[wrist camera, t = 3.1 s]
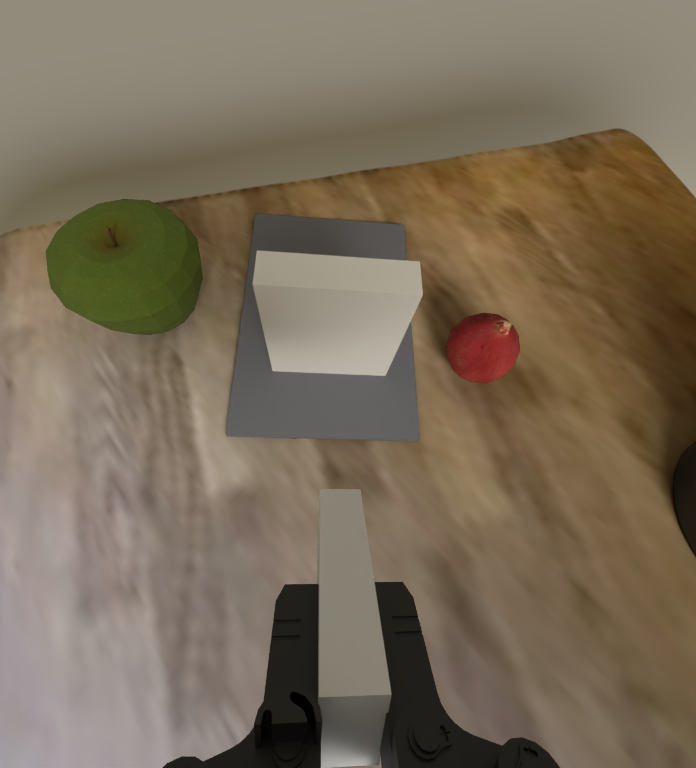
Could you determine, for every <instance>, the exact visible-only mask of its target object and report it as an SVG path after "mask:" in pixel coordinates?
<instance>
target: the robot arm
mask: <svg viewBox="0 0 696 768" xmlns="http://www.w3.org/2000/svg"><path fill="white" fill-rule="evenodd" d="M674 498H675V505H676V510H677V514H678V517H679V521H680V524H681V526H682V529H683V531H684V534H685V536H686V538H687V540H688V542H689V544H690V546H691V547H692V549H693V551H694V552H695V554H696V442H695V443H694V444H692V445H691V446H690V447H689V448H688V449H687V450H686V451H685V452H684V454H683V455H682V457H681V459H680V461H679V463H678V465H677V469H676V472H675V478H674ZM380 756H381V763H382V768H560V767H559V766H558V764H557V763H556V762H555V761H554V759H553V758H552V757H551V756H550V754H549V753H548V752H547V751H546V750H544V749H543V748H542V747H540V746H539V745H538V744H537V743H535V742H533V741H530V740H528V739H525V738H522V737H521V738H512V739H510V740H508V741H507V742H506V743H505V744H504V745H503V746H501V745H499V744H496V743H493V742H490V741H488V740H485V739H482V738H480V737H477V736H474V735H472V734H470V733H468V732H466V731H464V730H463V729H462V728H460V727H459V726H458V725H457V724H455V723H454V722H453V720H452V719H451V718H450V717H449V716H448V714H447V713H446V711H445V710H444V708H443V706H442V704H441V702H440V699H439V696H438V694H437V690H436V686H435V682H434V678H433V674H432V670H431V666H430V662H429V658H428V654H427V650H426V646H425V642H424V638H423V635H422V630H421V626H420V622H419V619H418V614H417V611H416V607H415V603H414V599H413V596H412V595H411V594H410V592H409V591H408V589H407V588H406V586H405V585H404V583H403V582H374V576H373V570H372V563H371V556H370V550H369V543H368V537H367V530H366V524H365V517H364V511H363V504H362V498H361V491H360V489H320V498H319V520H318V543H317V584H288V585H284V587H283V589H282V591H281V593H280V594H279V596H278V598H277V600H276V604H275V612H274V622H273V629H272V638H271V645H270V653H269V661H268V670H267V678H266V686H265V694H264V702H263V703H262V705H261V706H260V708H259V709H258V713H257V716H256V719H255V723H254V728H253V729H252V731H251V732H250V734H249V735H248V736H247V737H246V738H245V739H244V740H242V741H241V742H240V743H239V744H237V745H236V746H234V747H232V748H231V749H229V750H227V751H225V752H223V753H221V754H218V755H216V756H214V757H212V758H210V759H208V760H206V761H204V762H203V761H201V760H200V759H198V758H196V757H180V758H178V759H176V760H173V761H171V762H169V763H167V764H166V765H165V766H164V767H163V768H331V767H348V766H365V765H379V762H380Z"/></svg>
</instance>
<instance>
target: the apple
mask: <svg viewBox="0 0 696 768" xmlns="http://www.w3.org/2000/svg"><path fill="white" fill-rule="evenodd" d="M46 257H47V270H48V276H49V281H50V286H51V289H52V290H53V291H54V293H55V294H56V295H57V297H58V298H59V299H60V301H61V302H62V303H63V305H64V306H65V307H66V308H68V309H70V310H71V311H73V312H75V313H77V314H79V315H81V316H83V317H85V318H87V319H88V320H90V321H93V322H95V323H97V324H99V325H101V326H104V327H106V328H108V329H110V330H115V331H121V332H127V333H132V334H146V335H152V334H157V333H161V332H166V331H169V330H171V329H173V328H175V327H176V326H178V325H180V324H182V323H184V321H185V320H186V319H187V318H188V317H189V316H190V314H191V313H192V312H193V311H194V308H195V304H196V301H197V297H198V293H199V290H200V286H201V282H202V270H201V260H200V254H199V248H198V242H197V238H196V237H195V236H194V235H193V233H192V232H191V231H190V230H189V228H188V227H187V226H186V225H185V224H184V222H183V221H182V220H181V219H179V218H178V217H177V216H176V215H175V214H174V213H173V212H172V211H170V210H169V209H166V208H164V207H162V206H160V205H158V204H155V203H153V202H151V201H147V200H131V199H130V200H129V199H122V200H116V201H111V202H105V203H101V204H97V205H95V206H93V207H91V208H89V209H87V210H86V211H84V212H82V213H80V214H78V215H76V216H75V217H73V218H72V219H71V220H70V221H69V222H67V223H66V224H65V225H64V226H63V227H61V228H60V229H59V230H58V231H57V232H56V234H55V236H54V237H53V239H52V241H51V243H50V244H49V246H48V248H47V250H46Z"/></svg>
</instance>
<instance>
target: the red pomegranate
mask: <svg viewBox="0 0 696 768" xmlns="http://www.w3.org/2000/svg"><path fill="white" fill-rule="evenodd" d="M446 349H447V359H448V361H449V363H450V365H451V367H452V369H453V370H454V371H455V372H456V373H457V374H458V375H459V376H460V377H461V378H463V379H466V380H468V381H470V382H477V383H488V382H492V381H495V380H498V379H499V378H501V377H503V376H504V375H505V374H506V373H507V372H509V371H510V370H511V369H512V367H513V366H514V365H515V362H516V359H517V357H518V354H519V351H520V344H519V336H518V334H517V332H516V330H515V328H514V326H513V325H512V324H511V323H510V322H509V321H508V320H507V319H505V318H503V317H502V316H500V315H497V314H490V313H480V314H477V315H473V316H469V317H467V318H464V319H463V320H462V321H461V322H460V323H459V324H458V325H457V326H456V327H455V328H454V329H453V330H452V331H451V333H450V336H449V339H448V342H447V347H446Z"/></svg>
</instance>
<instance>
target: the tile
mask: <svg viewBox="0 0 696 768" xmlns="http://www.w3.org/2000/svg"><path fill="white" fill-rule="evenodd" d="M253 289H254V293H255V297H256V302H257V306H258V310H259V315H260V319H261V323H262V328H263V332H264V336H265V341H266V345H267V349H268V354H269V358H270V362H271V367H272V371H278V372H303V373H327V374H351V375H375V376H386V374H387V371H388V369H389V367H390V365H391V363H392V361H393V358H394V356H395V354H396V352H397V350H398V348H399V345H400V343H401V341H402V339H403V337H404V335H405V332H406V330H407V328H408V326H409V324H410V322H411V319H412V317H413V315H414V313H415V311H416V309H417V306H418V304H419V302H420V300H421V298H422V296H423V291H422V280H421V269H420V262H418V261H404V260H389V259H374V258H360V257H345V256H331V255H316V254H302V253H287V252H273V251H258V250H257V253H256V261H255V269H254V277H253Z"/></svg>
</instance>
